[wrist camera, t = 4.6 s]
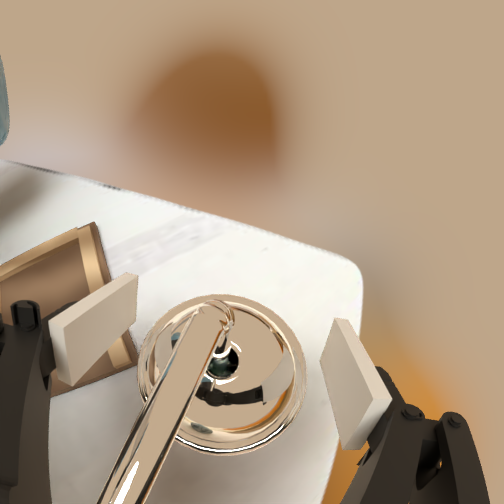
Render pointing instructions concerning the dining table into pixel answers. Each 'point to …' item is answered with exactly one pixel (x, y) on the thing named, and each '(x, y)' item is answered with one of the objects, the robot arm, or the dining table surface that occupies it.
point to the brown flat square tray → (65, 291)
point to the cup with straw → (209, 388)
